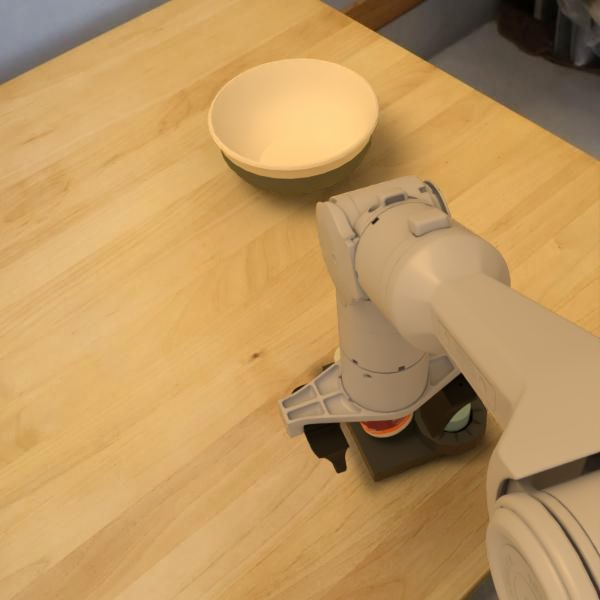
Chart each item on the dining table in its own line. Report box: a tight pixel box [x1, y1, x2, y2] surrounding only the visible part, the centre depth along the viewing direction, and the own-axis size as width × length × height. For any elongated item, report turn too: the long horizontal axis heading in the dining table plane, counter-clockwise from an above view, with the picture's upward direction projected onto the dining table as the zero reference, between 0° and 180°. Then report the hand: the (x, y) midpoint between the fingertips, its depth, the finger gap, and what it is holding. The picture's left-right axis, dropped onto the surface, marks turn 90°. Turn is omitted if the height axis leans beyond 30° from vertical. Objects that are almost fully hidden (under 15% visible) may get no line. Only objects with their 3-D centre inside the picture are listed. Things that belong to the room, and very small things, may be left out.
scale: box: [321, 361, 488, 482], centre depth 76 cm, size 13×11×3 cm
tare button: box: [444, 403, 471, 432], centre depth 73 cm, size 3×3×2 cm
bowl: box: [207, 57, 381, 195], centre depth 95 cm, size 19×19×8 cm
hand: (384, 443), depth 64 cm, fingers open, 7 cm apart
